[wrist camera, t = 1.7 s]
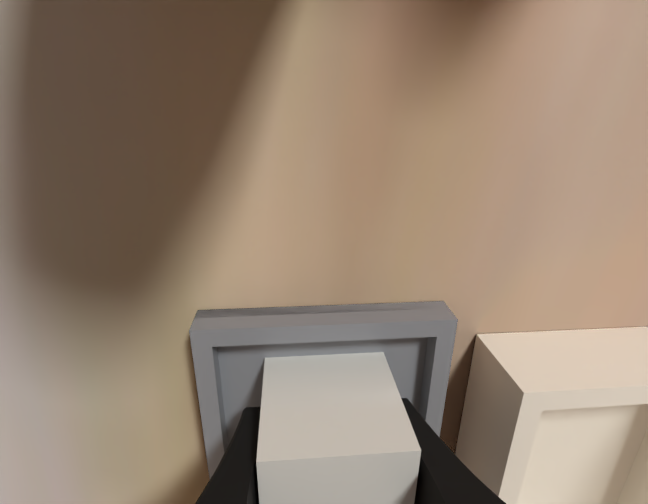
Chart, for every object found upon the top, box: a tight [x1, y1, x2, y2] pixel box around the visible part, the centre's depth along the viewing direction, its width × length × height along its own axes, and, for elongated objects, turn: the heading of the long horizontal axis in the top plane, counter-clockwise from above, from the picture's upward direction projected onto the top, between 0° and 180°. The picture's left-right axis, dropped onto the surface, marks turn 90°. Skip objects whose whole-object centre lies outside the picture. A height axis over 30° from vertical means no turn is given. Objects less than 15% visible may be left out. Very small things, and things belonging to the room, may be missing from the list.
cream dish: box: [455, 327, 648, 504], centre depth 15 cm, size 8×12×3 cm
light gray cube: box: [256, 352, 421, 504], centre depth 12 cm, size 4×4×4 cm
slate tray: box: [189, 301, 458, 479], centre depth 15 cm, size 8×13×1 cm, turn 0°
